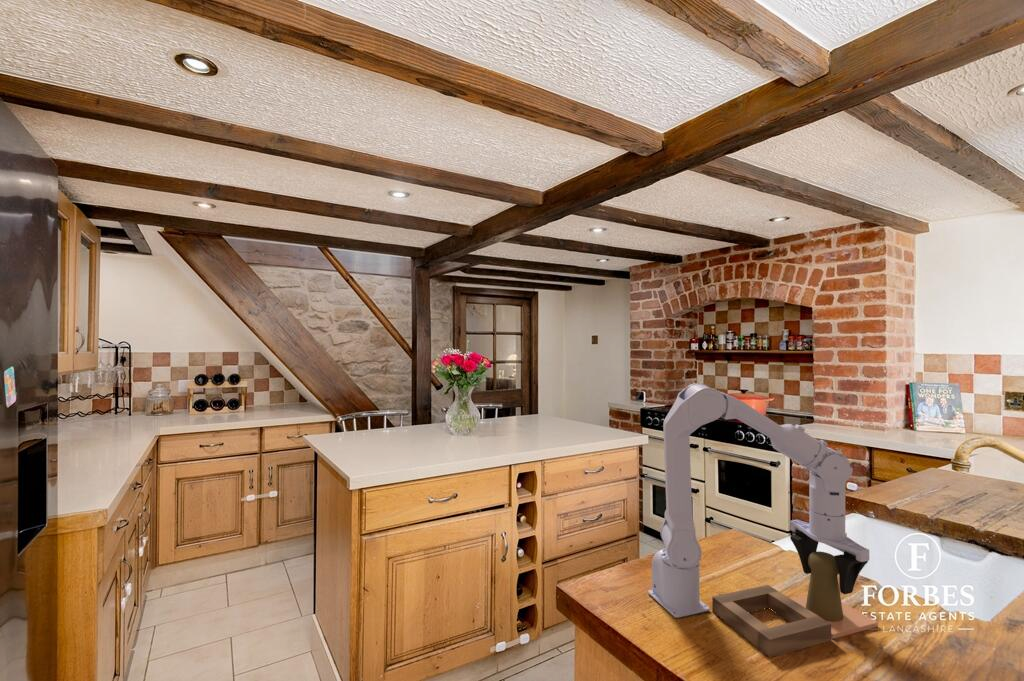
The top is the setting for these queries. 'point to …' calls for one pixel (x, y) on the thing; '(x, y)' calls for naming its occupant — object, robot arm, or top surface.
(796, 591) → the top surface
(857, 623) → the terracotta tile
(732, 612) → the walnut holder
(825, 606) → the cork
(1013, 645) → the top surface
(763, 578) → the top surface
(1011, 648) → the top surface
